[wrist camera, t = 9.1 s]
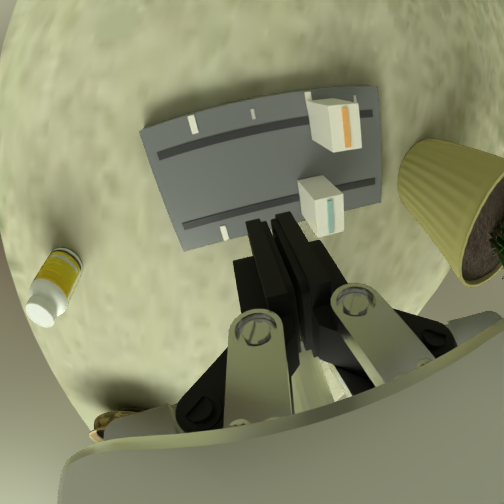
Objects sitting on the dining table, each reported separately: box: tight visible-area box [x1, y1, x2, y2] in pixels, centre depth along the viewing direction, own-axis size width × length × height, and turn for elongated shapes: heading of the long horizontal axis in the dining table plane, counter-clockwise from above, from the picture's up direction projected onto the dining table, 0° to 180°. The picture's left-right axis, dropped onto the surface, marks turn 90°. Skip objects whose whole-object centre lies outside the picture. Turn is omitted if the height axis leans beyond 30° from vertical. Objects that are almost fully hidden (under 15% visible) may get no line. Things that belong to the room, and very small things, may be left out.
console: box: [139, 85, 382, 251], centre depth 27 cm, size 14×24×2 cm, turn 101°
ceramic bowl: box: [89, 408, 144, 443], centre depth 54 cm, size 30×24×10 cm
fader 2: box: [297, 175, 344, 238], centre depth 26 cm, size 4×3×5 cm
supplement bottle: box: [26, 248, 83, 327], centre depth 26 cm, size 5×5×10 cm
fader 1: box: [306, 98, 362, 153], centre depth 22 cm, size 4×3×5 cm
